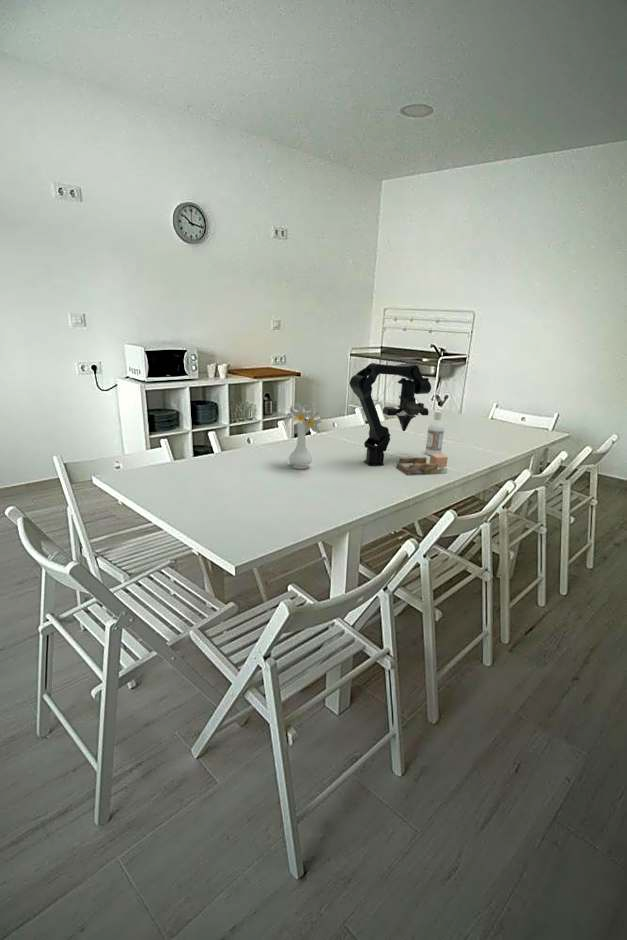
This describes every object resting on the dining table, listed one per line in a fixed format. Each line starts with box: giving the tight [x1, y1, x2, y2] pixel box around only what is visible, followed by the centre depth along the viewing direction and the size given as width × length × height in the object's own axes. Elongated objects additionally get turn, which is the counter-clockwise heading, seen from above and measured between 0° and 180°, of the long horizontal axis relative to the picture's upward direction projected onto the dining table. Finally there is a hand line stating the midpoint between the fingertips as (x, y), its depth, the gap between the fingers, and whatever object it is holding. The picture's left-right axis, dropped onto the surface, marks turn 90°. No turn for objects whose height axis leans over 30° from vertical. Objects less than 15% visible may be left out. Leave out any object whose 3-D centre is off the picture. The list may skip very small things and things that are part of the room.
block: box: [429, 453, 448, 468], centre depth 199 cm, size 5×5×4 cm
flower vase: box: [284, 402, 322, 470], centre depth 191 cm, size 13×18×25 cm
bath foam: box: [425, 410, 445, 456], centre depth 220 cm, size 7×7×20 cm
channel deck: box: [396, 456, 448, 476], centre depth 197 cm, size 18×10×4 cm, turn 107°
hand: (403, 430), depth 207 cm, fingers closed
